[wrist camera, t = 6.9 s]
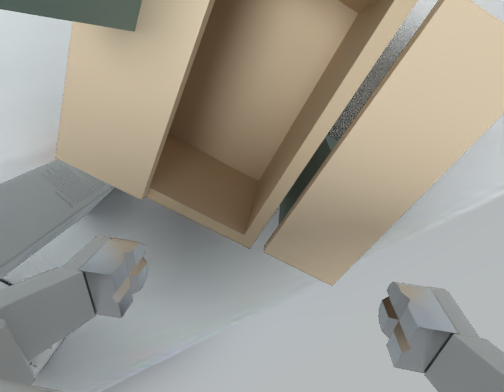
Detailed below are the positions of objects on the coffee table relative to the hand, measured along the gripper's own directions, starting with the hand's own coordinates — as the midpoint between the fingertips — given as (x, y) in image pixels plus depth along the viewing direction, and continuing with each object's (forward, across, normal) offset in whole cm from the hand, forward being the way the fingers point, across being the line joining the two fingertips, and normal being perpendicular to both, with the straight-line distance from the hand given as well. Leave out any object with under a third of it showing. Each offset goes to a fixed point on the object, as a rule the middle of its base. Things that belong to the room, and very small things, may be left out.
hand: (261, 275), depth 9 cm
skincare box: (+14, +17, +5) cm, 23 cm away
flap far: (+5, -5, -2) cm, 7 cm away
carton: (+13, +3, -5) cm, 15 cm away
